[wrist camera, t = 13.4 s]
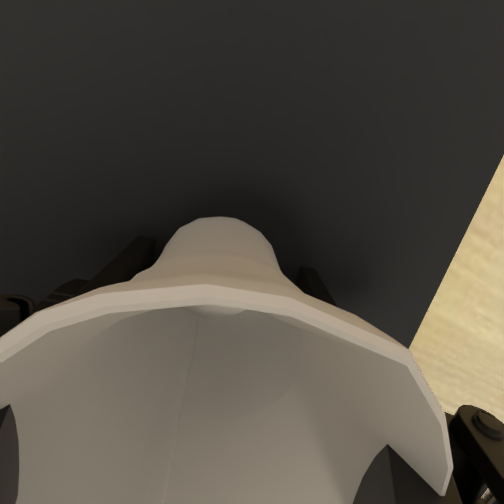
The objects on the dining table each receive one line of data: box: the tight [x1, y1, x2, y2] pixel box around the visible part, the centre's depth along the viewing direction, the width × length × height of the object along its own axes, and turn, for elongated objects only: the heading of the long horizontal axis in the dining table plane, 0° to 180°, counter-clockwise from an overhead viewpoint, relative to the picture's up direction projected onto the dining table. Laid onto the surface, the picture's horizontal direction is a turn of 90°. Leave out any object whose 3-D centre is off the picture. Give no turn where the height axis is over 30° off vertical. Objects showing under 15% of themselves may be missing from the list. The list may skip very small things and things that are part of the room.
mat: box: [0, 0, 504, 349], centre depth 12 cm, size 22×22×1 cm
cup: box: [0, 216, 453, 504], centre depth 9 cm, size 9×9×10 cm
